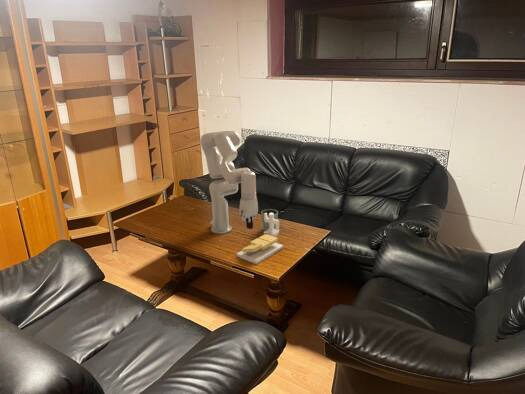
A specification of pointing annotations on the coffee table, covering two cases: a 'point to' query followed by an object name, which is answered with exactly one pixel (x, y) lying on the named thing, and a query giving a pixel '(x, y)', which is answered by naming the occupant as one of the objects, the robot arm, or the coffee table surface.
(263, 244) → the key
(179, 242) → the coffee table surface
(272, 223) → the figurine
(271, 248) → the board
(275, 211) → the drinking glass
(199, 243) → the coffee table surface
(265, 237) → the key
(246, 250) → the key
